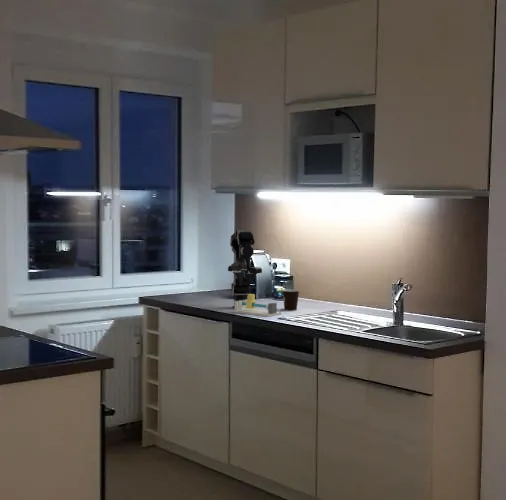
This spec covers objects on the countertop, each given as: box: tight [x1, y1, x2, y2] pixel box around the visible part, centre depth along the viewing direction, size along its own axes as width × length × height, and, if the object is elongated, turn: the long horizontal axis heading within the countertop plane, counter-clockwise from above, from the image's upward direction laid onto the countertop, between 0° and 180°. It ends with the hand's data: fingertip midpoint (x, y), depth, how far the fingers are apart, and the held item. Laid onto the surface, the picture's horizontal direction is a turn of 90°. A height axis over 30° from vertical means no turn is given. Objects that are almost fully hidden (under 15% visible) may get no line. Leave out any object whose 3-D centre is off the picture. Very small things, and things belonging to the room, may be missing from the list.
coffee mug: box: [282, 289, 300, 311], centre depth 422 cm, size 12×9×10 cm
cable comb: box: [232, 298, 282, 317], centre depth 407 cm, size 23×11×6 cm, turn 50°
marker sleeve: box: [246, 293, 257, 309], centre depth 410 cm, size 3×4×7 cm
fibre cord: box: [242, 302, 278, 314], centre depth 407 cm, size 22×4×5 cm, turn 50°
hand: (244, 286), depth 412 cm, fingers open, 5 cm apart
